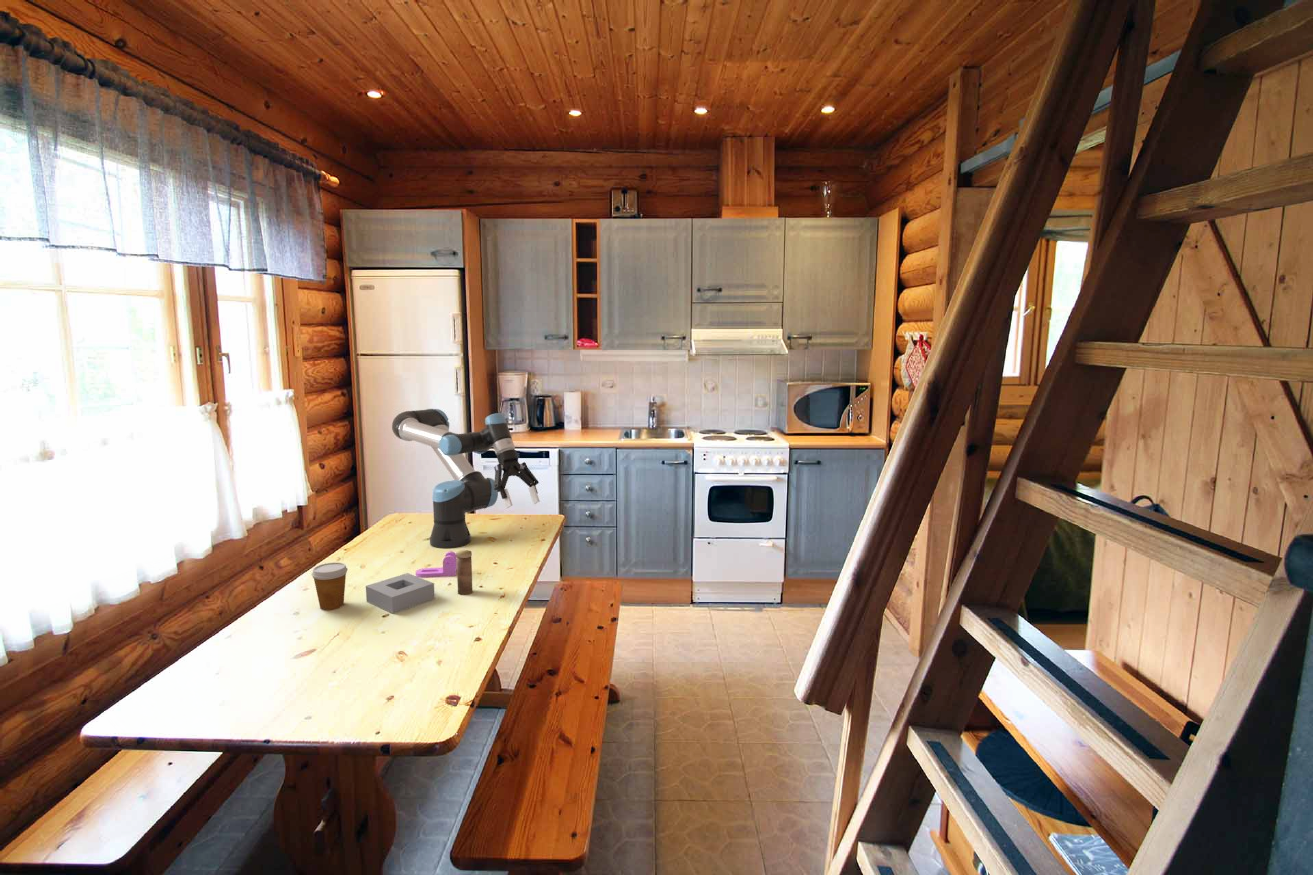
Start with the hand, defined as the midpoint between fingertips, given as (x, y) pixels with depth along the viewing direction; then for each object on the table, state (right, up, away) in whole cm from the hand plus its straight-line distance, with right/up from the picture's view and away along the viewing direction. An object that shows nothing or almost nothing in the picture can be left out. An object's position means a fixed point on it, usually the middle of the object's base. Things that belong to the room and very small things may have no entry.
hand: (523, 504), depth 245 cm
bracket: (-25, -22, -22) cm, 40 cm away
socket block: (-28, -25, -44) cm, 58 cm away
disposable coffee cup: (-47, -25, -49) cm, 72 cm away
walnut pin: (-11, -24, -37) cm, 46 cm away
